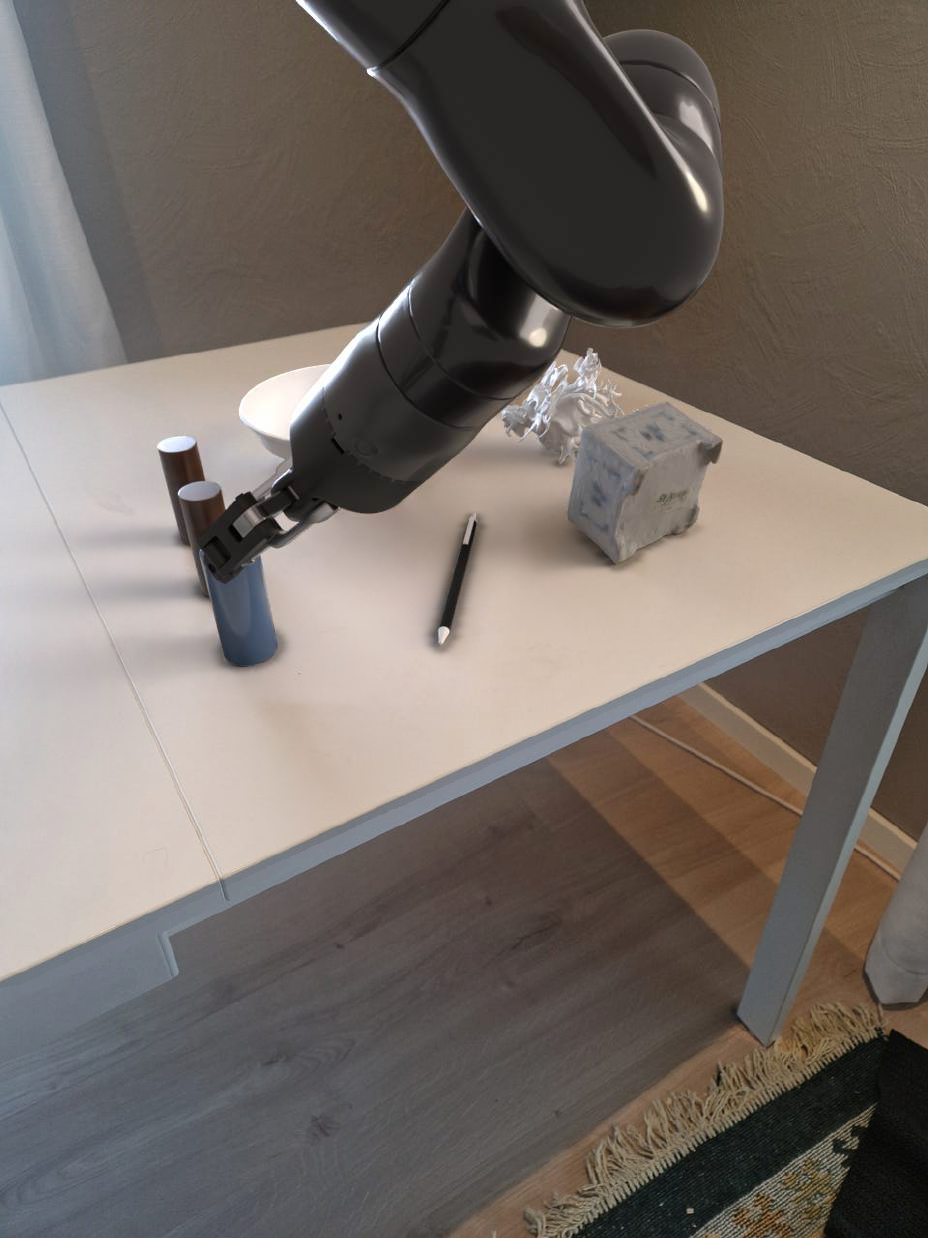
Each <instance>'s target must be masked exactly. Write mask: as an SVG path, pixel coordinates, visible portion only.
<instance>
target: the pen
mask: <svg viewBox="0 0 928 1238" xmlns="http://www.w3.org/2000/svg"><path fill="white" fill-rule="evenodd" d="M477 526H478V520H477V513H475V512H473V513H472V515H471V516H469V519H468V520H467V523H466V527H465V530H464V534H463V537H462V541H461V545H460V549H459V553H458V556H457V559H456V563H455V567H454V571H453V575H452V578H451V582H450V585H449V590H448V593H447V597H446V601H445V603H444V607H443V611H442V615H441V618H440V623H439V626H438V630H437V633H438V634H437V635H438V646H440V647H441V646H442V645H443V644H444V642H445V641H446V639H447V637H448V636H449V635H450V633H451V630H452V629H451V628H452V624H453V620H454V617H455V612H456V608H457V605H458V604H457V603H458V600H459V597H460V593H461V588H462V585H463V582H464V577H465V573H466V571H467V570H466V569H467V565H468V560H469V557H470V554H471V551H472V546H473V542H474V537H475V533H476V529H477Z"/></svg>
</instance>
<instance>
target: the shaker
mask: <svg viewBox="0 0 928 1238" xmlns="http://www.w3.org/2000/svg"><path fill="white" fill-rule="evenodd" d="M199 555H200V560H201V564H202V568H203V572H204V576H205V580H206V584H207V588H208V593H209V597H208V598H209V600H210V606H211V608H212V609H211V610H212V613H213V617H214V622H215V625H216V629H217V633H218V637H219V643H220V646H221V651H222V655H223V657H224V659H225V660H226V661H227V662H228V663H230V664H232V665H234V666H239V667H252V666H255V665H260V664H262V663H264V662H266V661H267V660H269V659H271V658H272V657H273V656H274V655H275V653H276V652H277V650H278V640H277V634H276V629H275V623H274V618H273V614H272V613H273V612H272V608H271V604H270V603H271V602H270V597H269V592H268V587H267V581H266V577H265V571H264V567H263V562H262V556H261V555H262V554H261V555H260V556H258V557H257V558H256V559H255V560H256V561H255V562H254V563H253V564H251V565H250V566H248V565H247V566H246V567H245V568H244V569H243V570H242V571H241V572H240V573H239V574H238V575H237V576H236V577H235V578H234V579H232V580H231V581H229V582H228V583H226V584H223V583H222V582H220V581H219V580H218V581H216V579H215V578H214V577H213V576H212V574H211V573H210V572H209V570H208V569H207V568H206V567H205V565H204V564H203V563H202V562H203V560H204V558H203V555H204V553H203V551H202V550H200V551H199Z"/></svg>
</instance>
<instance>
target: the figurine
mask: <svg viewBox="0 0 928 1238" xmlns="http://www.w3.org/2000/svg"><path fill="white" fill-rule="evenodd" d="M582 360H583V356H582V355H581V356H580V357H579V358H578V359H577V360H576V362H575V363H574V365H573V367H572V371H573V372H575V373H578V374H579V376H578V377H577V379H576V380H574V381H573V382H571V383H569V382H568V380H567V378H568V377H569V374H568V373H569V367H568V365H567V364H565V363H563V364H561V365H559V366H558V367H556V366H557V364H558V361H556V360H555V361H554V362H553V364H552V365H551V366H550V368H549V369H548V370H547V371H546V372H545V373H544V375H543V378H542V380H541V381H540V383H537V384H535V385H534V386H533V387H532V389H531V391H530V393H529V395H528V396H527V397H526V398H525V400H524V401H523V402H522V403H521V405H517V404H513V405H510V404H509V405H508V406H507V407H506V408H504V409H503V410H502V411H501V416H500V420H501V421H502V422H503V428H505V434H506V436H507V437H509V438H511V437H512V434H510V432H511V431H512V432H514V434H515V435H516V436H517V437H519V438H520V439H519V441H518V443H521V442H522V441H523V440H524V439H525V438H526V437H527V436H528V435H529V434H530V433H534V434H535V435H537V437H536V440H538V441H539V443H540V444H541V445H542V446H543V447H545V449H547V450H552V451H554V452H561V453H560V456H559V460H558V465H559V466H560V465H562V464H563V462H564V461H565V460H566V458H567V457H568V458H569V459H570V461H571V462H572V463H573V464H574V465H576V459H577V458H576V457H575V452H578V449H579V446H578V445H577V444H576V443H575V437H581V432H582V430H583V429H584V428H585V427H586V426H588V425H591V424H595V423H598V422H601V421H604V420H608V419H611V418H616V417H620V416H622V415H625V413H624V411H623V410H622V409H621V408H620V407H619V406H620V403H617V404H616V403H615V402H614V398H620V397H621V396H622V392H620V391H619V393H618V392H616V389H617V385H618V384H615V385H614V388H613V387H612V382H611V380H610V379H609V378H607V381H608V384H607V383H606V384H605V385H604V381H603V380H601V384H599V385H598V386H597V384H596V380H597V378H598V376H599V375H600V374H601V373H602V366H603V365H602V363H601V359H600V358H599V357H598V352H594V349H593V348H592V347H587V351H586V355H585V357H584V360H583V361H582ZM581 361H582V363H581ZM580 363H581V364H580ZM562 367H563V368H562ZM598 367H600V368H599V369H597V368H598ZM561 368H562V369H561ZM560 369H561V370H560ZM594 372H595V373H594ZM566 373H567V374H566ZM565 374H566V375H565ZM562 376H563V378H562ZM560 378H562V379H561V381H560V382H559V384H558V386H557V387H556V388H555V389H554V390H552V388H553V386H554V385H555V384H556V383H557V382H558V381H559V380H560ZM603 385H604V386H603ZM606 393H607V394H606ZM604 394H606V395H604ZM608 402H609V404H608ZM645 406H646V407H649V406H650V405H648V404H645ZM519 409H520V411H519ZM638 410H639V409H638V408H636V409H635V411H638ZM631 412H634V410H633V409H632V410H631ZM602 414H603V415H602ZM617 414H620V416H618V415H617ZM527 428H528V430H527V432H526V433H525V430H526V429H527Z"/></svg>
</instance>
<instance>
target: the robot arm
mask: <svg viewBox="0 0 928 1238" xmlns="http://www.w3.org/2000/svg"><path fill="white" fill-rule="evenodd" d="M294 1H295V2H297V4H298V5H299V6H301V8H303V10H305V12H306V13H307V14H308V15H309V16H310V17H311V18H313V20H315V21H316V23H317V24H318V25H319V26H320V27H321V28H323V30H324V31H325V32H327V34H328V35H330V37H331V38H332V39H334V40H335V42H336V43H337V44H339V46H341V48H342V49H344V51H345V52H346V53H348V54H349V55H350V57H351V58H352V59H353V60H354V61H355V62H356V63H357V64H358V65H359V66H361V67H362V68H363V69H364V70H366V73H367V74H368V75H369V76H370V77H371V78H372V79H373V80H375V81H376V82H377V83H378V85H380V86H381V87H382V88H383V89H384V90H385V91H387V92H388V93H389V94H390V95H391V96H392V97H394V99H396V100H397V102H398V103H399V104H400V105H401V106H402V107H403V109H404V110H405V111H406V113H407V114H408V116H410V118H411V119H412V121H413V123H414V125H415V126H416V128H417V129H418V131H419V132H420V134H421V136H422V137H423V139H424V141H425V142H426V144H427V146H428V148H429V150H430V151H431V153H432V155H433V156H434V158H435V160H436V162H437V163H438V164H439V167H440V168H441V170H442V172H444V174H445V176H446V177H447V178H448V180H449V181H450V183H451V185H452V186H453V187H454V189H455V190H456V192H457V193H458V194H459V196H460V197H461V199H462V200H463V201H464V203H465V206H464V208H463V209H462V211H461V213H460V215H459V216H458V218H457V220H456V221H455V224H454V225H453V227H452V228H451V230H450V231H449V233H448V234H447V236H446V238H445V240H444V241H443V242H442V243H441V245H440V246H439V248H438V249H436V251H435V252H434V253H433V254H432V255H430V257H429V258H428V259H427V260H426V261H425V262H424V263H423V264H422V266H420V267H419V269H418V270H416V271H415V273H414V274H413V276H412V277H411V278H410V279H409V281H408V282H407V283H406V284H405V285H404V286H403V287H402V289H401V290H400V291H399V292H398V294H396V296H395V297H394V298H393V300H391V302H390V303H389V304H388V306H386V308H385V309H383V311H382V312H381V313H380V314H379V315H378V316H376V317H375V318H373V319H372V320H370V322H368V323H367V324H366V325H365V326H364V327H362V329H361V330H360V331H359V332H357V334H356V335H355V336H354V337H353V338H352V339H351V340H350V342H349V343H348V344H347V345H346V347H345V348H344V349H343V350H342V351H341V353H340V354H339V355H338V356H337V358H335V360H334V361H333V362H332V363H331V364H332V365H331V366H330V367H329V368H328V370H327V371H326V372H325V373H324V374H323V376H322V377H321V378H320V379H319V380H318V382H317V383H316V384H315V385H314V386H313V388H312V389H311V390H310V391H309V392H308V394H307V395H306V396H305V397H304V398H303V400H302V401H301V402H300V403H299V404H298V406H297V407H296V409H295V411H294V413H293V416H292V419H291V423H290V431H289V437H290V446H291V454H292V455H290V456H289V457H288V458H287V459H283V461H281V462H280V463H279V464H278V465H276V468H275V471H274V473H273V475H271V476H270V477H269V478H268V479H266V480H265V481H264V482H262V483H261V484H260V485H259V486H258V487H256V488H255V489H254V490H252V492H251V490H249V491H246V492H244V493H243V492H241V493H239V494H238V495H237V496H236V497H235V498H234V500H233V502H232V503H231V504H229V506H228V507H227V508H225V509H226V510H225V511H224V512H223V514H222V515H221V516H220V517H219V518H218V519H217V520H216V521H215V522H214V523H213V525H212V526H211V527H210V528H209V529H208V530H207V531H206V532H205V533H204V534H203V535H201V536H200V537H199V538H200V539H199V540H198V541H197V542H196V545H197V546H198V547H199V549H200V550H202V551H203V553H204V555H203V558H204V560H203V562H202V563H203V564H204V565H205V567H206V568H207V569H208V570H209V572H210V573H211V574H212V576H213V577H214V578H215V579H216V581H218V580H219V581H220V582H222V583H223V584H226V583H228V582H229V581H231V580H232V579H234V578H235V577H236V576H237V575H238V574H239V573H240V572H241V571H242V570H243V569H244V568H245V567H246V566H247V565H248V566H250V565H251V564H253V563H254V562H255V561H256V560H255V559H256V558H257V557H258V556H260V555H262V554H264V553H265V552H267V550H269V549H270V548H273V549H276V550H277V549H281V548H284V547H286V546H288V545H290V544H291V543H292V542H294V541H295V540H296V539H297V538H299V537H300V536H301V535H302V534H304V533H305V532H307V530H309V529H310V528H311V527H313V526H314V525H315V524H321V523H324V522H326V521H328V520H329V519H331V517H332V516H334V515H336V514H337V513H338V512H339V511H341V510H345V511H348V512H352V513H356V514H361V515H373V514H381V513H384V512H387V511H389V510H391V509H393V508H395V507H396V506H398V505H399V504H400V503H402V502H403V501H404V500H405V499H406V498H408V497H409V496H410V495H411V494H412V493H413V492H414V491H416V490H417V489H418V488H419V487H420V486H422V485H423V484H424V483H426V481H428V480H429V479H430V478H432V477H433V476H434V475H435V474H436V473H438V472H439V471H440V470H441V469H442V468H444V467H445V466H446V465H447V464H448V463H449V462H451V461H452V460H454V458H456V457H457V456H458V455H459V454H461V452H463V451H464V450H465V449H466V448H467V447H468V446H469V445H470V444H471V443H472V442H473V441H474V440H475V438H476V437H477V436H478V435H479V433H481V431H482V430H483V429H484V427H485V426H486V425H487V424H489V422H490V421H492V419H494V418H495V417H496V416H497V415H498V414H500V413H502V410H503V409H504V408H506V407H507V406H508V405H509V406H510V404H512V403H513V402H514V401H515V400H516V399H517V398H519V397H520V396H521V395H522V394H524V393H525V392H526V391H527V390H529V388H531V387H532V386H533V385H534V384H535V383H536V382H537V381H538V380H540V378H541V377H542V376H544V375H545V374H546V373H547V371H548V369H549V368H550V366H551V365H552V364H553V362H554V361H556V360H557V358H558V356H559V354H560V353H561V351H562V348H563V345H564V343H565V340H566V337H567V334H568V331H569V327H570V324H571V321H572V318H574V319H576V320H578V321H581V322H583V323H586V324H589V325H592V326H597V327H602V328H609V329H619V330H620V329H622V330H623V329H626V330H627V329H636V328H642V327H646V326H650V325H654V324H656V323H658V322H659V323H660V322H661V321H663V320H666V319H668V318H669V317H670V316H673V315H674V314H676V313H677V312H679V311H680V310H681V309H683V308H684V307H685V306H686V305H687V304H688V303H689V302H691V300H692V299H693V298H694V297H695V296H696V295H697V293H699V292H700V290H701V288H703V286H704V285H705V284H706V283H705V282H706V281H707V279H708V278H709V276H710V274H711V272H712V270H713V268H714V266H715V263H716V260H717V258H718V255H719V251H720V247H721V242H722V237H723V233H724V224H725V197H724V195H725V193H724V191H725V190H724V169H723V168H724V167H723V166H724V165H723V128H722V127H723V125H722V113H721V112H722V111H721V102H720V98H719V94H718V91H717V87H716V84H715V82H714V79H713V76H712V74H711V72H710V70H709V67H707V64H706V63H705V61H704V60H703V59H702V58H701V57H700V55H699V54H698V52H696V51H695V49H693V48H692V47H691V46H690V45H688V44H687V43H686V42H684V41H683V40H682V39H680V38H679V37H676V36H673V35H671V34H669V33H667V32H662V31H660V30H654V29H642V28H641V29H640V28H638V29H628V30H624V31H623V30H622V31H619V32H616V33H612V34H609V35H607V36H604V37H603V36H602V35H601V33H600V32H599V30H598V29H597V27H596V25H595V24H594V22H593V21H592V18H591V16H590V14H589V12H588V10H587V8H586V6H585V3H584V0H294ZM269 495H270V496H269ZM282 513H283V515H284V516H285V517H286V518H287V519H288V520H289V521H291V522H294V523H296V524H295V525H293V526H292V527H290V529H288V530H285V529H284V528H283V527H282V526H281V525H280V524H279V522H278V521H277V520H276V517H278V516H279V515H281V514H282Z"/></svg>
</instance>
